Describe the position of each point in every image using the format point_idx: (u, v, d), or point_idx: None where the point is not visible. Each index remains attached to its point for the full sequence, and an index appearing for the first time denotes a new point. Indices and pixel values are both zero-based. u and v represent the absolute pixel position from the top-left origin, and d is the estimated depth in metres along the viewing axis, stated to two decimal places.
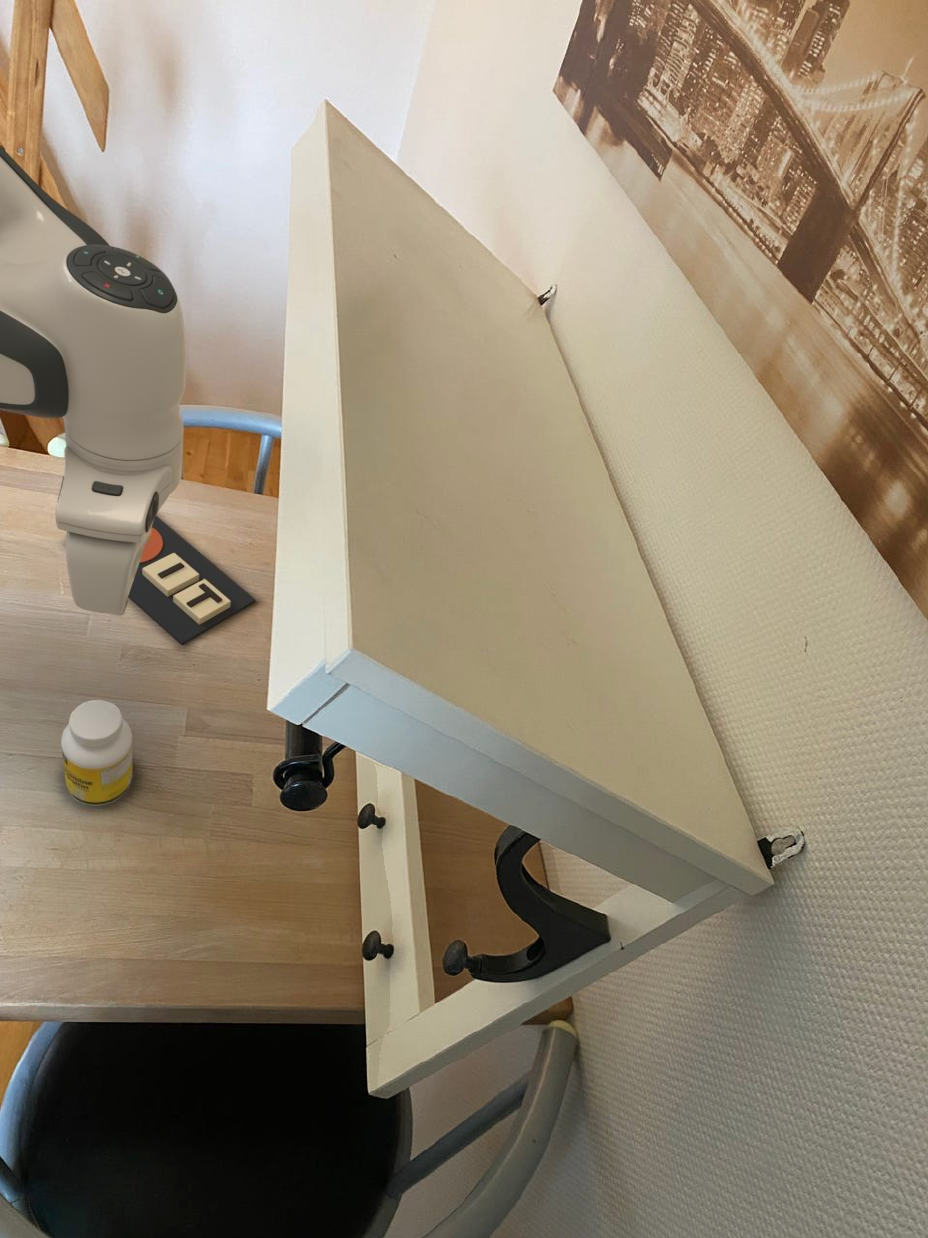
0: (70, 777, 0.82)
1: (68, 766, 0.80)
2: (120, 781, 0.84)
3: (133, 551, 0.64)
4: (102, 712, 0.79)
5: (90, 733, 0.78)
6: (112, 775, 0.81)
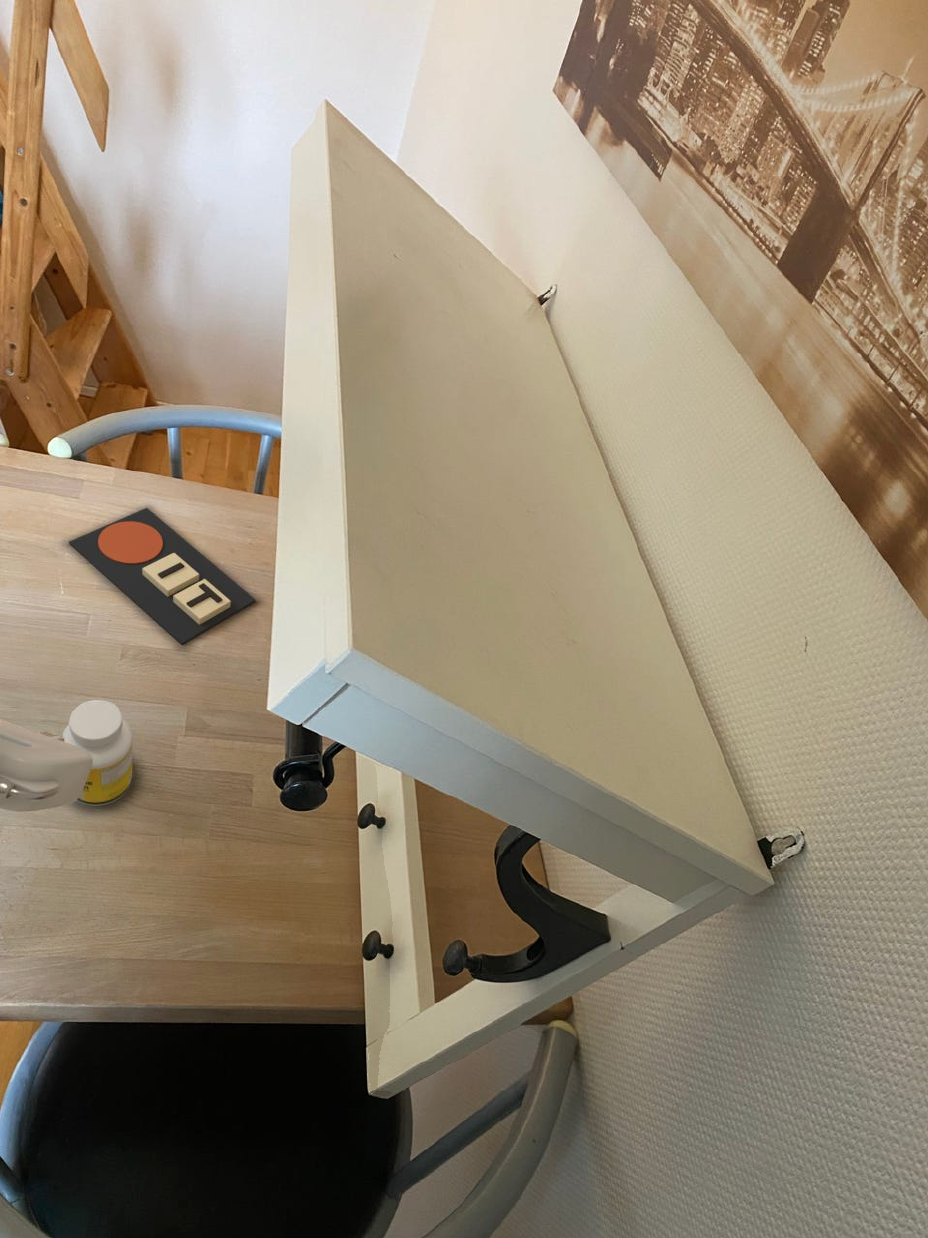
0: None
1: None
2: (120, 781, 0.84)
3: None
4: (102, 712, 0.79)
5: (90, 733, 0.78)
6: (112, 775, 0.81)
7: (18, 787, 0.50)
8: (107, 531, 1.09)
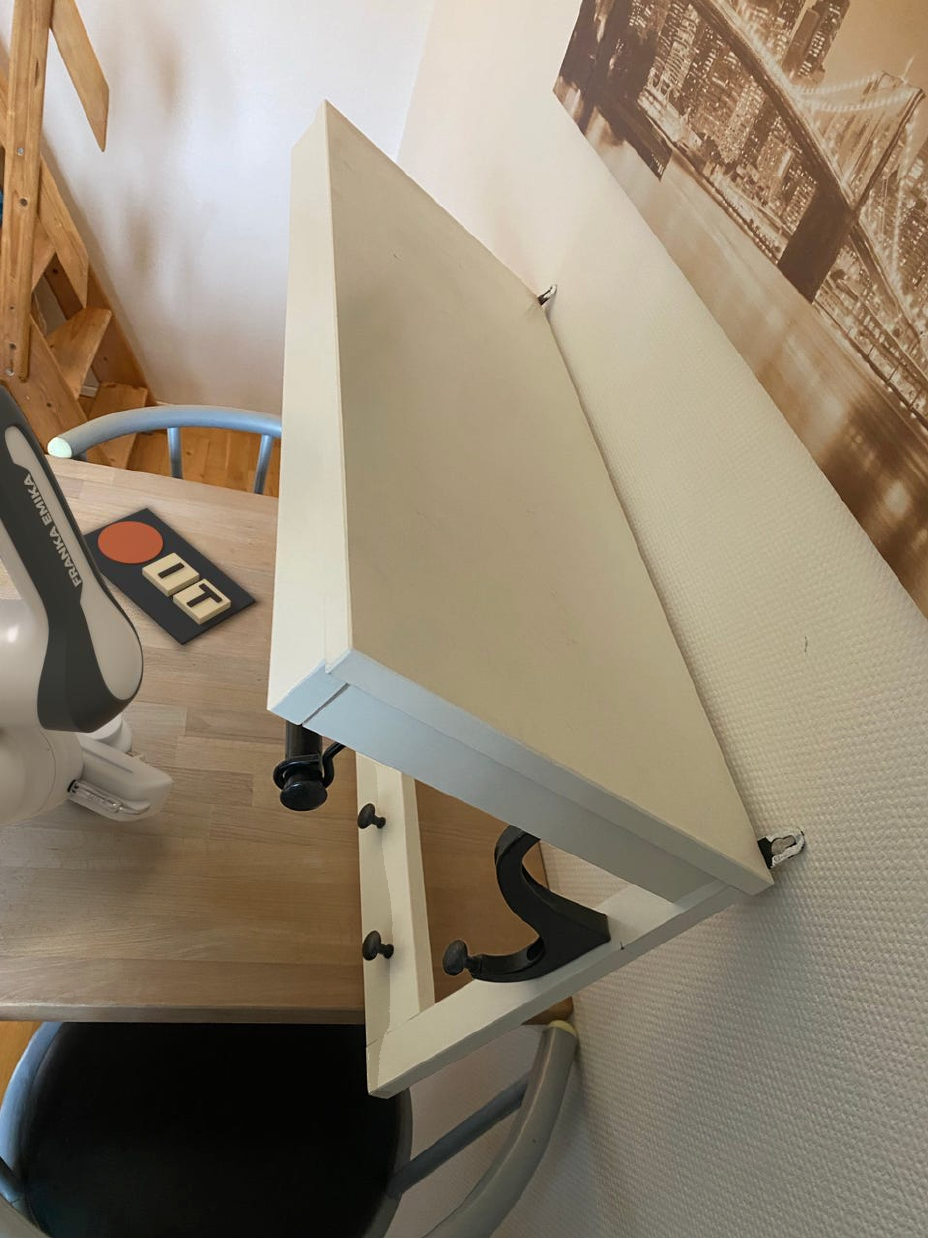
0: None
1: None
2: None
3: None
4: None
5: (90, 733, 0.78)
6: None
7: (123, 805, 0.70)
8: (107, 531, 1.09)
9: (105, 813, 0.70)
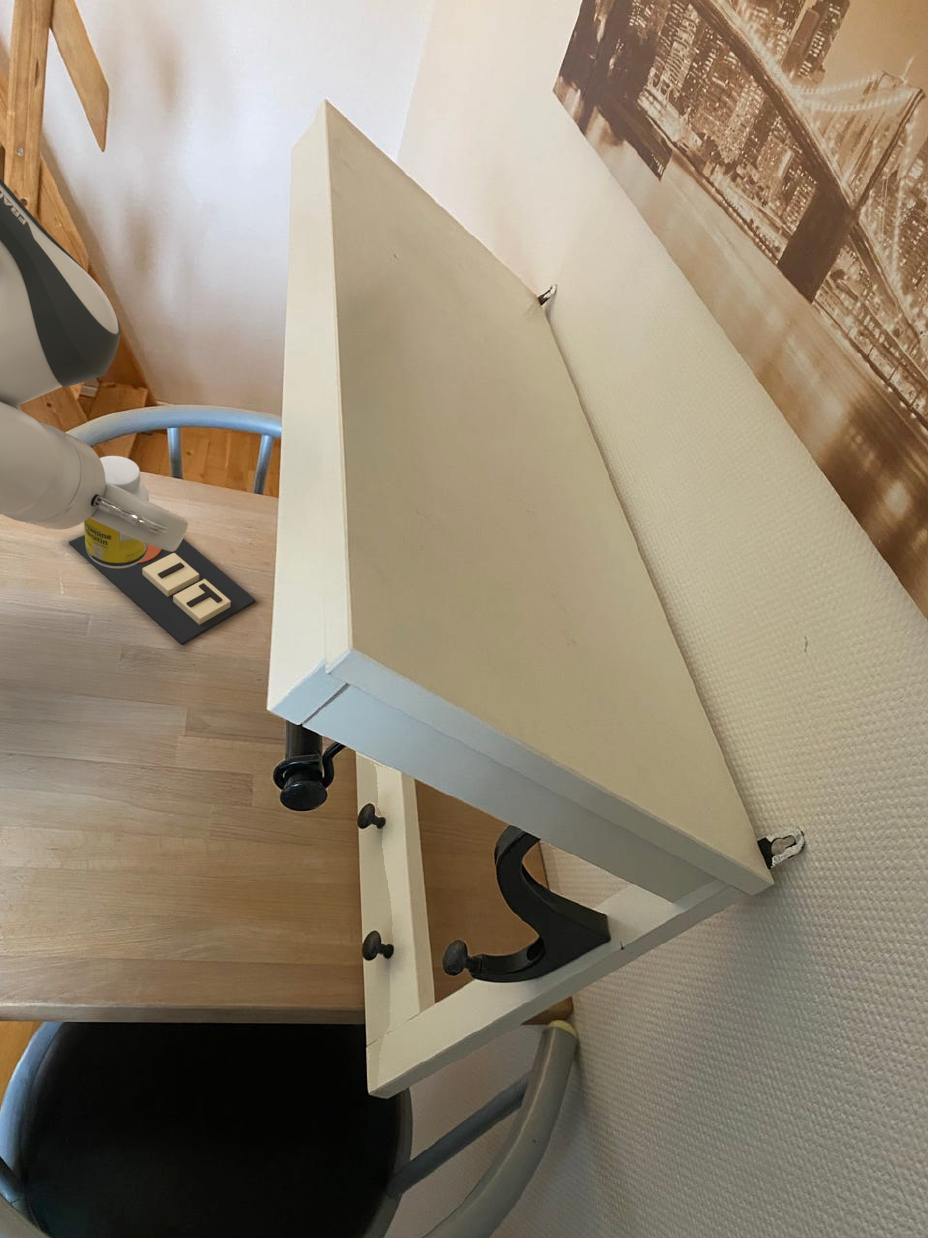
0: (90, 532, 0.87)
1: (89, 518, 0.85)
2: (137, 542, 0.89)
3: None
4: (121, 465, 0.85)
5: (111, 480, 0.83)
6: None
7: (143, 520, 0.75)
8: None
9: (125, 530, 0.76)
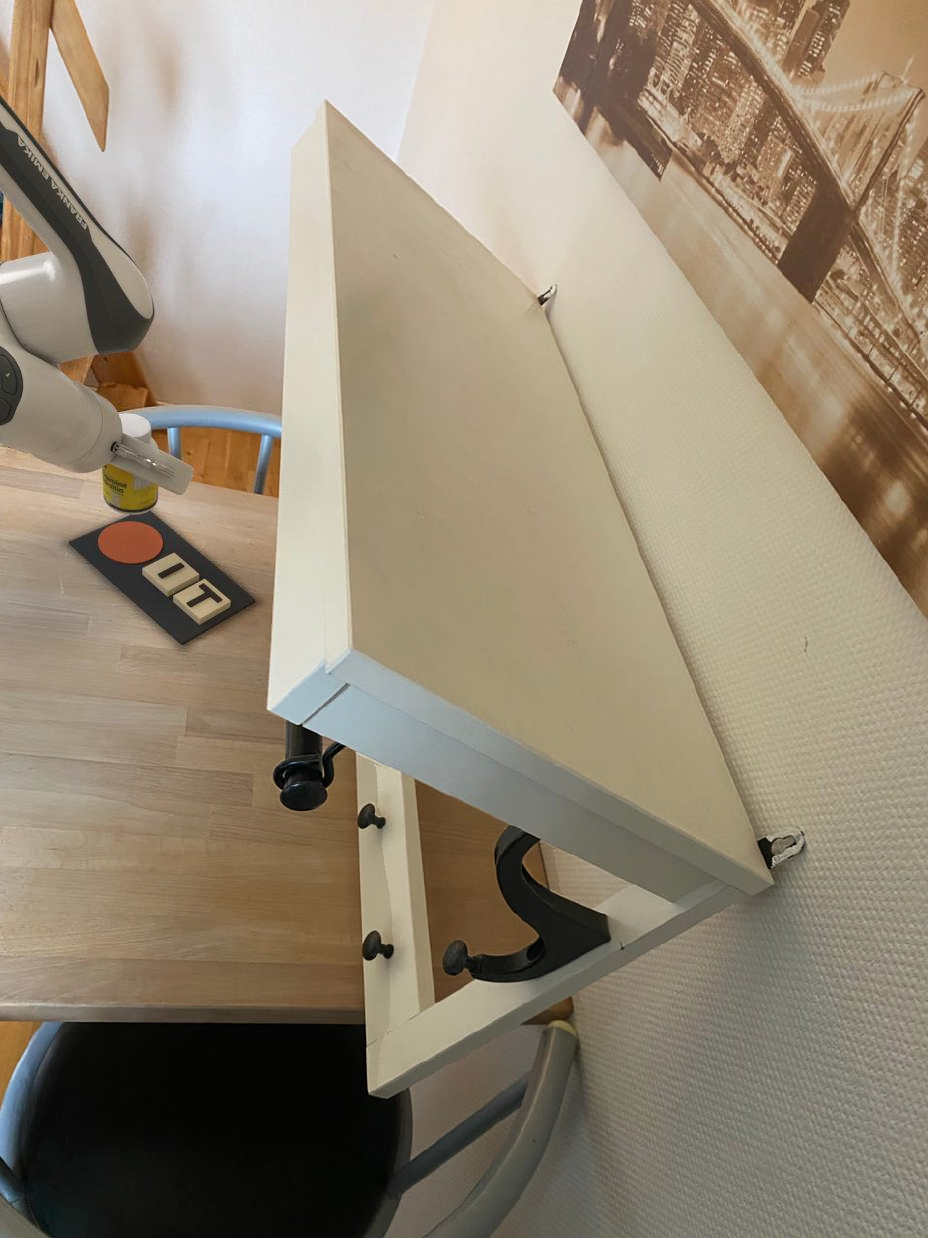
0: (108, 481, 0.99)
1: (107, 468, 0.97)
2: (149, 491, 1.01)
3: None
4: (135, 421, 0.96)
5: (126, 433, 0.95)
6: (143, 479, 0.99)
7: (155, 464, 0.87)
8: (107, 531, 1.09)
9: (140, 472, 0.87)
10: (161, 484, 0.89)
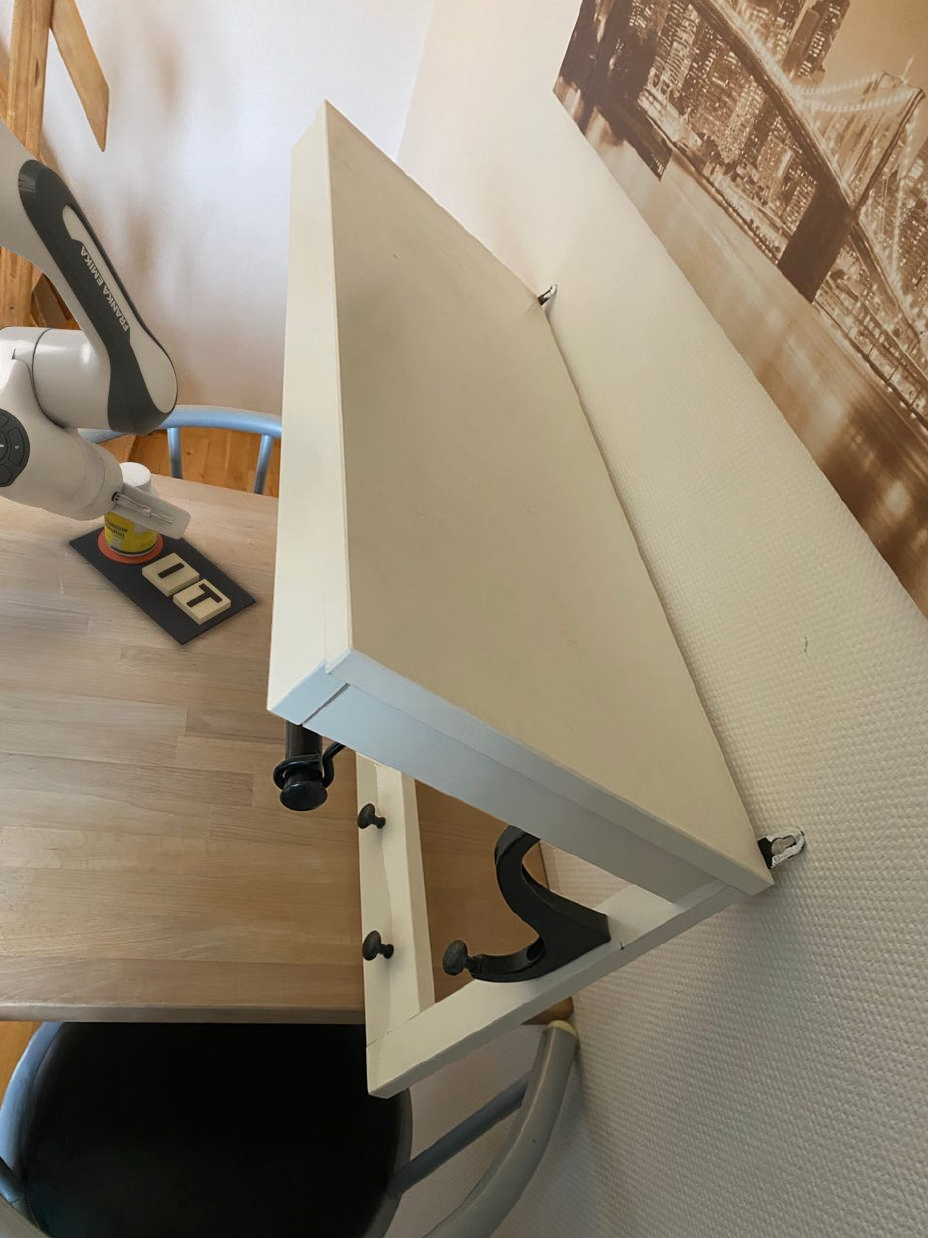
0: (110, 526, 1.04)
1: (109, 514, 1.02)
2: (148, 534, 1.06)
3: None
4: (135, 470, 1.01)
5: (127, 482, 1.00)
6: None
7: (154, 513, 0.92)
8: None
9: (139, 520, 0.92)
10: (159, 531, 0.94)
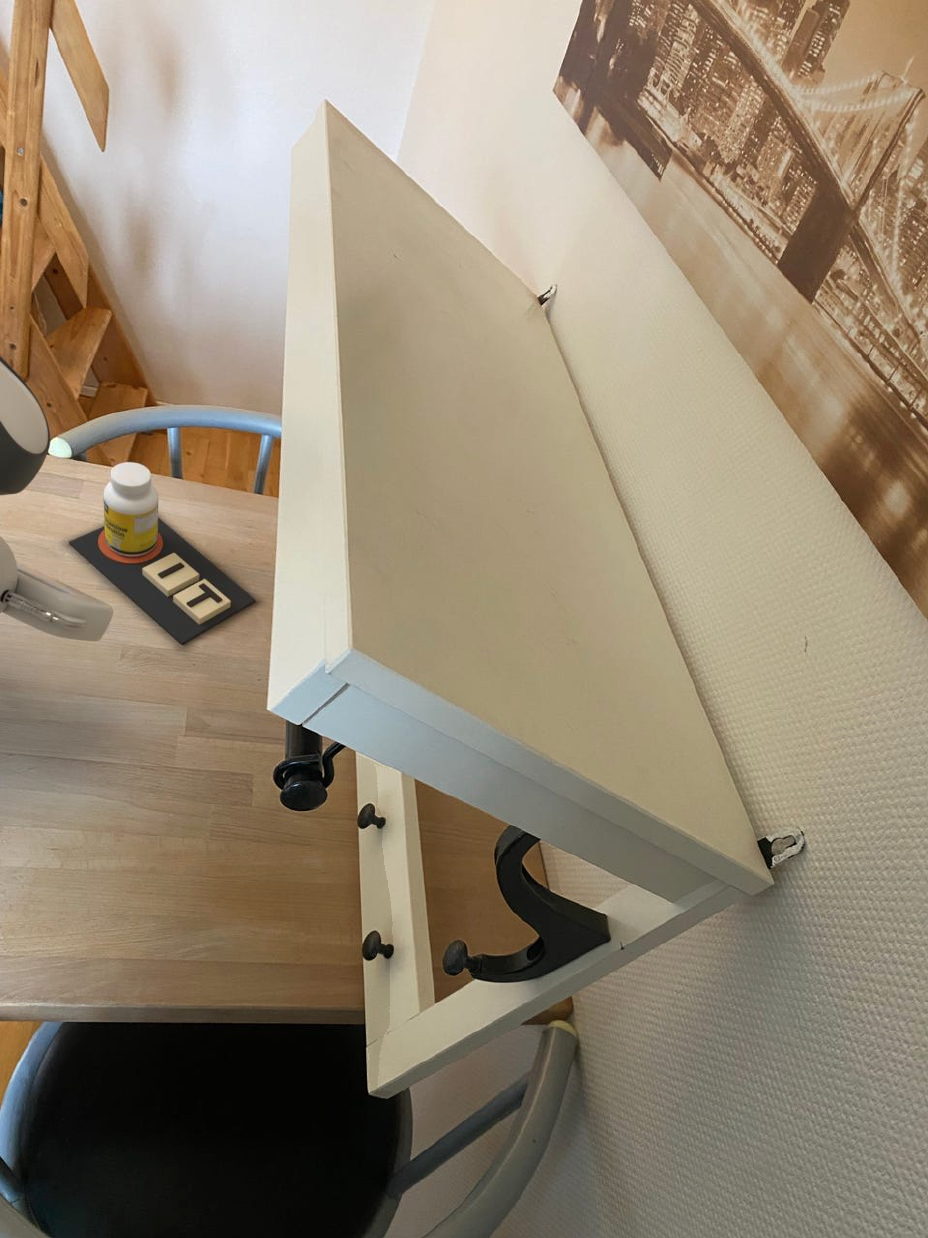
0: (110, 526, 1.04)
1: (109, 514, 1.02)
2: (148, 534, 1.06)
3: None
4: (135, 470, 1.01)
5: (127, 482, 1.00)
6: (143, 524, 1.04)
7: (57, 617, 0.70)
8: None
9: (39, 626, 0.70)
10: (67, 637, 0.72)
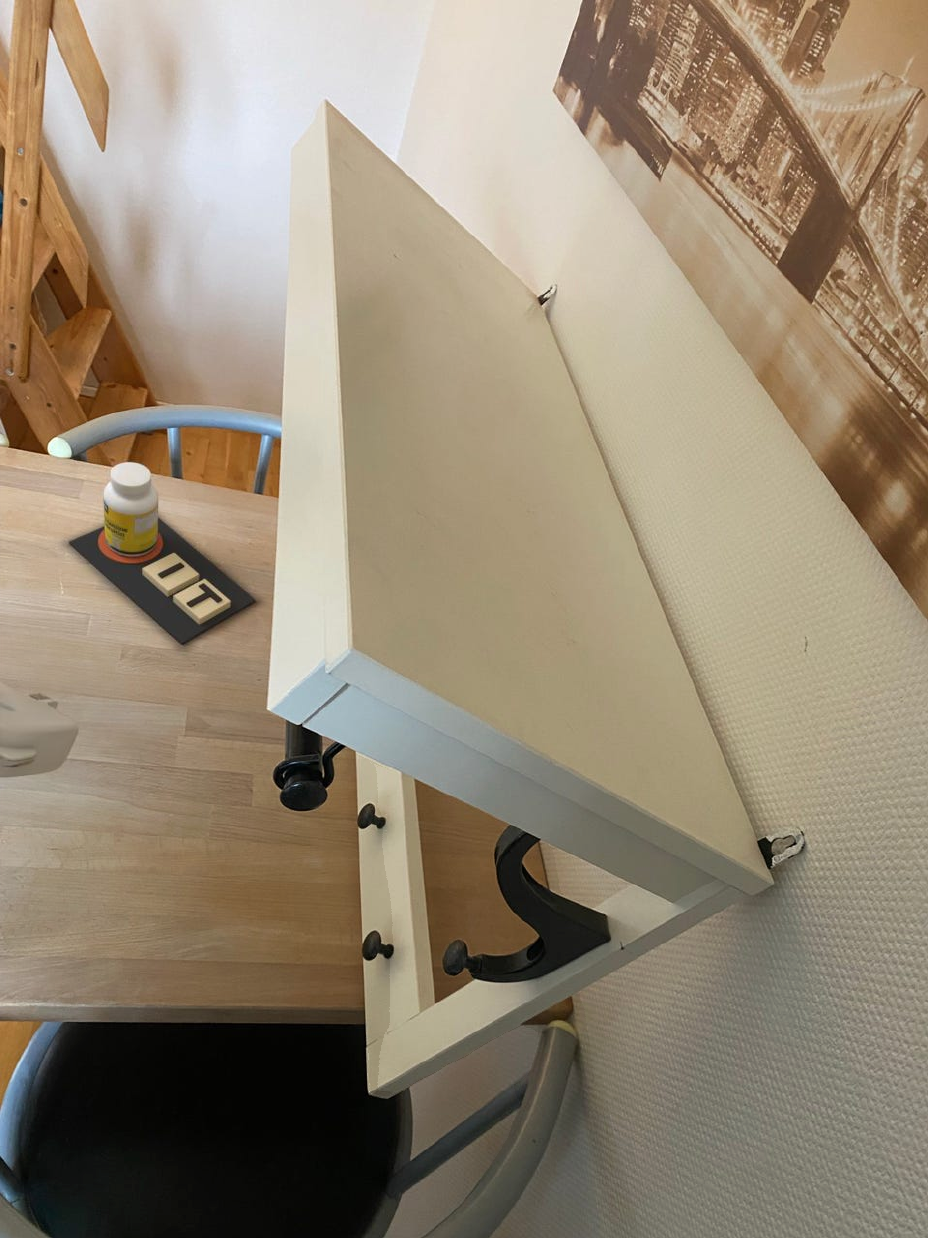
0: (110, 526, 1.04)
1: (109, 514, 1.02)
2: (148, 534, 1.06)
3: None
4: (135, 470, 1.01)
5: (127, 482, 1.00)
6: (143, 524, 1.04)
7: None
8: None
9: None
10: (9, 776, 0.50)
